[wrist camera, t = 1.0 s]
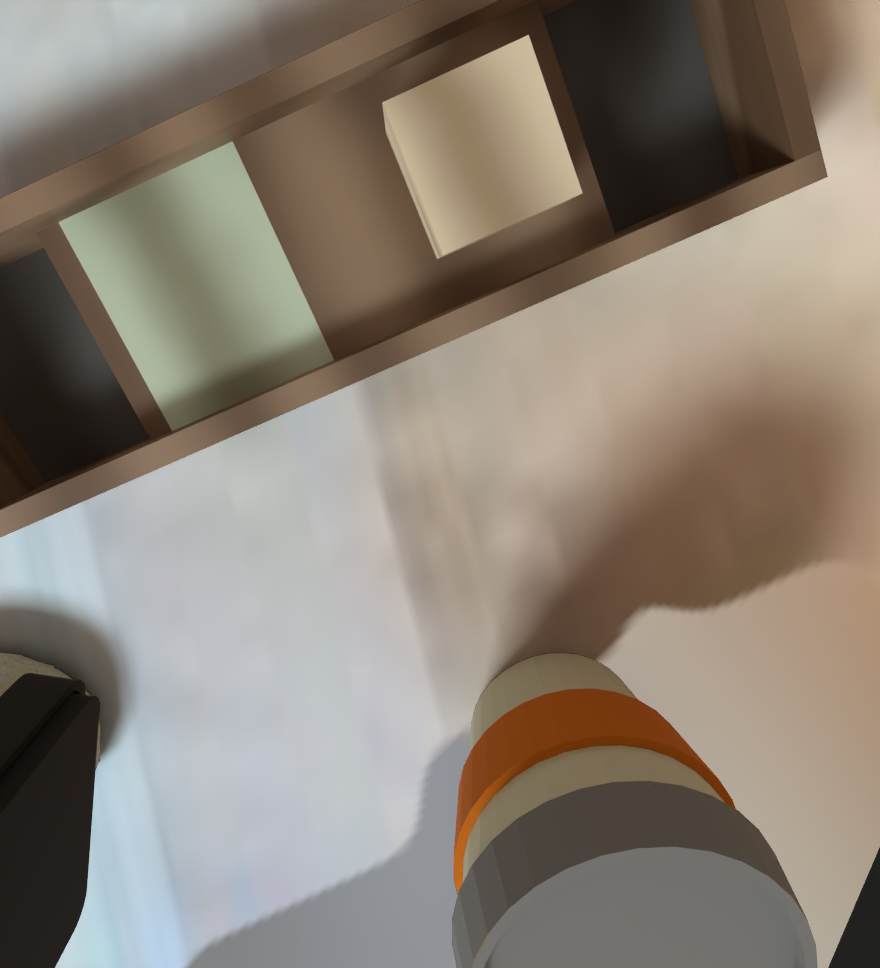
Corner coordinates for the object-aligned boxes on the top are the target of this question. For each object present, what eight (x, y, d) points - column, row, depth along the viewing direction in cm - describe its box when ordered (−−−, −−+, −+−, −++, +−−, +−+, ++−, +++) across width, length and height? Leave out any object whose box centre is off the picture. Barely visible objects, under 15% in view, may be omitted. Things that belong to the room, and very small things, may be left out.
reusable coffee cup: (610, 579, 36) (745, 775, 22) (704, 763, 40) (875, 1038, 25) (394, 689, 38) (387, 944, 23) (502, 858, 41) (556, 1174, 26)
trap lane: (688, -80, 29) (745, -152, 24) (763, 192, 32) (827, 176, 27) (-97, 286, 31) (-189, 286, 26) (41, 508, 34) (-19, 545, 29)
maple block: (506, 78, 27) (528, 34, 22) (552, 207, 29) (582, 193, 24) (386, 133, 28) (382, 102, 23) (437, 259, 29) (443, 254, 24)
